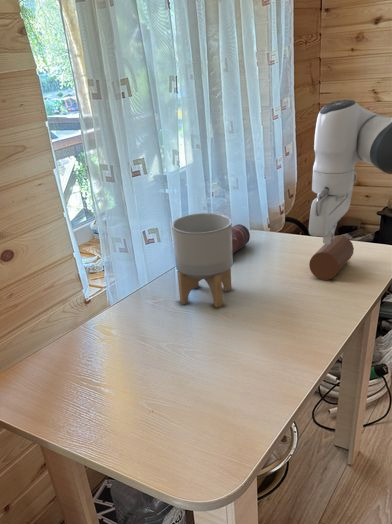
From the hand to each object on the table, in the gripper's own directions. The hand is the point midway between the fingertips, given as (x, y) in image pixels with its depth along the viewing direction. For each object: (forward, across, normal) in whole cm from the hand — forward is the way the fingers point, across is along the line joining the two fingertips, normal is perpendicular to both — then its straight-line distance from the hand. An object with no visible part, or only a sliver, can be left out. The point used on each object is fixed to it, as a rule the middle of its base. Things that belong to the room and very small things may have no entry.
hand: (328, 241), depth 121 cm
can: (+6, +13, +29) cm, 32 cm away
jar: (+5, -2, 0) cm, 6 cm away
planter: (+9, -20, +22) cm, 32 cm away
